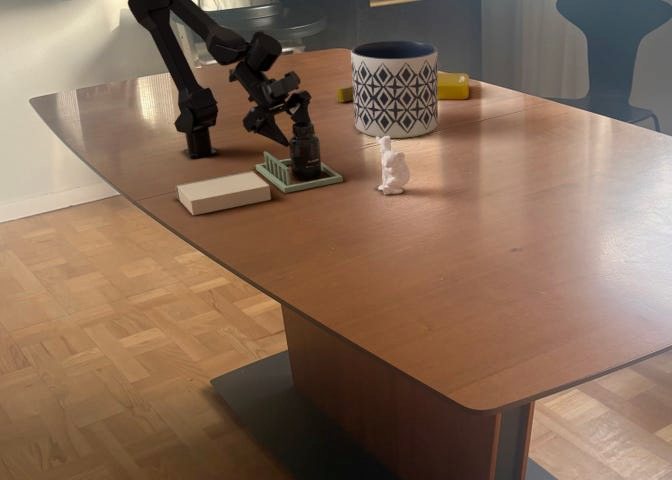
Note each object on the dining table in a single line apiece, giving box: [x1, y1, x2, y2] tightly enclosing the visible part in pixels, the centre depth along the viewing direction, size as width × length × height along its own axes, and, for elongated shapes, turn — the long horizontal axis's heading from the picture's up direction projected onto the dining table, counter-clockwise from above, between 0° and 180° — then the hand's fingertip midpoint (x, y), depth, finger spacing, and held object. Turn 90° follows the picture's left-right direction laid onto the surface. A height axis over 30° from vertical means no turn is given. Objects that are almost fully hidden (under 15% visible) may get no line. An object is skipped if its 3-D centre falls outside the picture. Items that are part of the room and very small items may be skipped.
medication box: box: [336, 84, 354, 103], centre depth 248 cm, size 12×3×4 cm, turn 134°
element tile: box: [438, 72, 470, 101], centre depth 254 cm, size 15×15×5 cm
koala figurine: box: [375, 136, 411, 195], centre depth 181 cm, size 8×7×12 cm
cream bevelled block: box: [174, 170, 272, 216], centre depth 179 cm, size 11×17×3 cm, turn 122°
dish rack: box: [255, 150, 344, 194], centre depth 191 cm, size 18×14×5 cm
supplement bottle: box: [288, 122, 322, 181], centre depth 189 cm, size 7×7×12 cm
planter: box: [350, 39, 439, 139], centre depth 220 cm, size 22×22×20 cm
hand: (301, 140), depth 188 cm, fingers open, 9 cm apart
